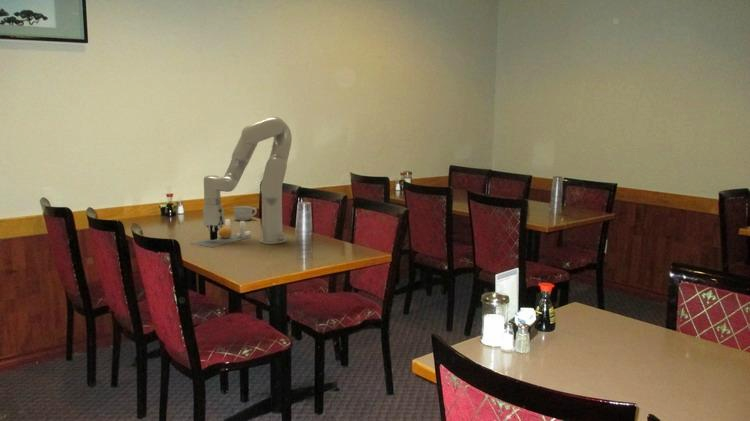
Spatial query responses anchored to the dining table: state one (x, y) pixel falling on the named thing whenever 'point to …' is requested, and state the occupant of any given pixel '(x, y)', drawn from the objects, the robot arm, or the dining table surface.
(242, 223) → the back pin left
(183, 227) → the dining table surface
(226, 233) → the ball
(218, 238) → the gray flat board
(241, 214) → the teacup
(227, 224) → the back pin right
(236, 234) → the front pin
